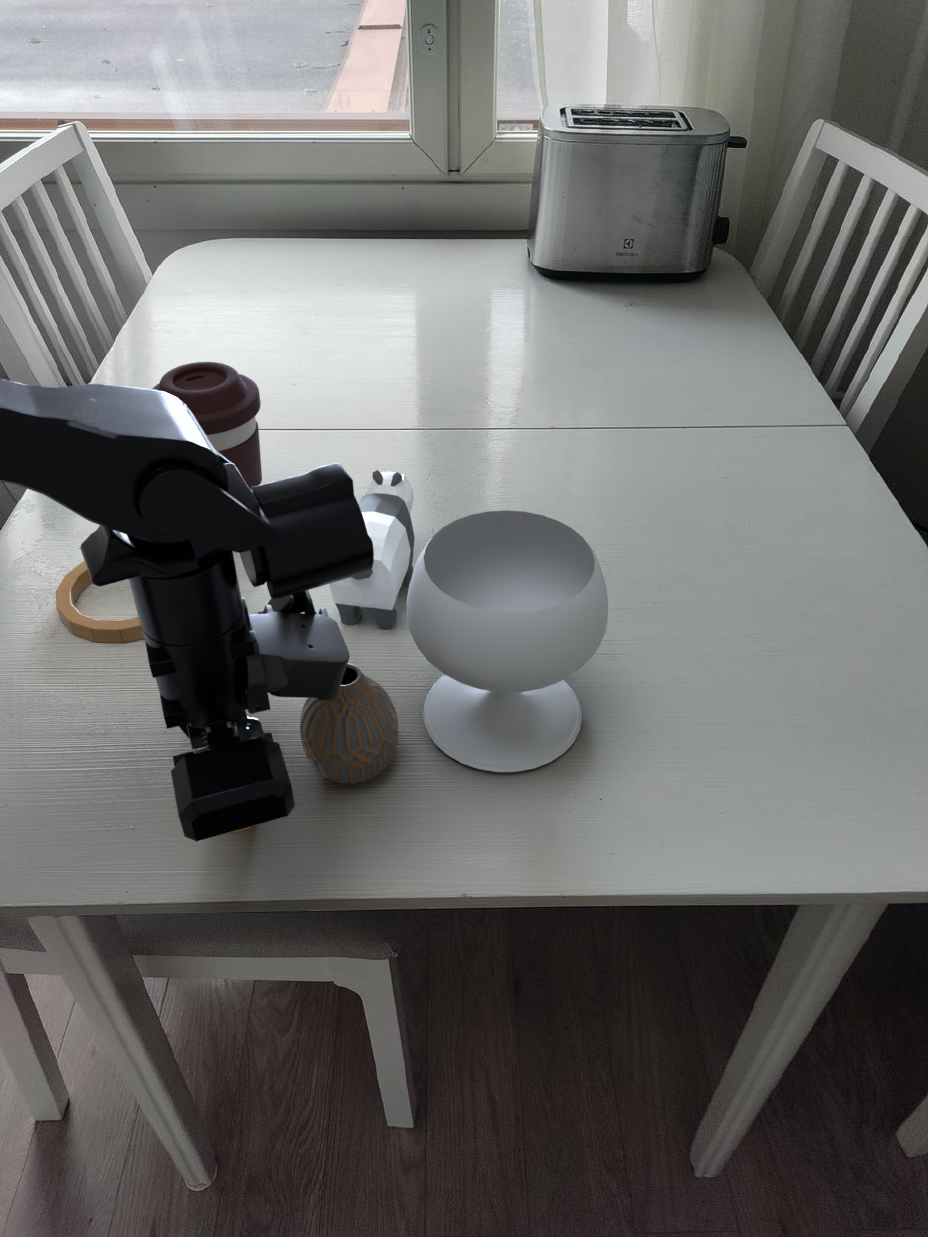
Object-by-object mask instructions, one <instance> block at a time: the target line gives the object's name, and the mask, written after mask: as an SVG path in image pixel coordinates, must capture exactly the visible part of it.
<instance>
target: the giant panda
mask: <svg viewBox="0 0 928 1237" xmlns="http://www.w3.org/2000/svg"><path fill="white" fill-rule="evenodd" d="M414 499H415V498H414V487H413V485H412V484H411V482H410V481H409V479H408V478H407V476H406V475H405V474H403V473H400V472H398V471H396V472H394V471H379V470H378V469H376V470H375V471H373V472H372V479H371V481H370V483H369V485H368V487H367V489H366V492H365V493H364V495H362V497H361V498H360V500H359V502H358V505H359V507H360V510H361V513H362V516H363V518H364V522H365V526H366V529H367V534H368V535H369V537H370V538H371V540H372V542H373V550H374V562H373V567H372V569H371V571H370V572H367V573H364V574H360V575H357V576H354V577H350V578H347V579H343V580H340V581H337V582H333V583H330V584H328V585H329V589H330V592H331V596H332V599H333V603H334V604H335V606H336V608H337V610H338V614H339V618H340V623H342V624H345V625H347V626H348V625H349V626H350V625H356V624H357V623H358V621H359V620H360V619H361V615H362V610H363V608H371V609H372V610H373V611H374V613H375V614H376V627H377V628H380V629H383V630H389V629H392V628H393V627H394V625H395V623H396V620H397V618H398V617H397V616H398V615H397V614H398V612H397V609H396V605H397V604H396V603H397V599H398V596H399V592H400V589H401V588H405V587H409V585H410V581H411V578H412V574H413V571H414V567H413V560H414V549H415V539H416V537H415V532H414V527H413V522H412V518H411V514H412V509H413V504H414V501H415V500H414ZM362 607H363V608H362Z"/></svg>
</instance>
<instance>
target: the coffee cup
mask: <svg viewBox="0 0 928 1237" xmlns="http://www.w3.org/2000/svg"><path fill="white" fill-rule="evenodd" d="M151 389H152V390H157V391H162V392H166V393H168V394H170V395H172V396H174V397H176V398H178V399H179V400H181V401H182V402H183V403H184V404H185V405H187V407H188V408H189V410H190V411H191V412H192V413H193V415H194V417H195V418H196V420H197V421H198V423H199V425H200V426H201V428H202V430H203V431H204V433H205V435H206V436H207V438H208V439H209V441H210V443H211V444H212V446H213V448H214V449H215V450H216V451H217V452H219V453H220V454H221V455H223V456H224V457H225V458H226V459H228V460H229V461H230V462H231V463H233V464H234V465H235V466H236V468H237V469H238V471H239V472H240V474H241V476H242V477H243V479H244V480H245V482H246V484H247V485H248V487H249V488H250V490H251V487H254V486H258V485H262V481H263V474H262V473H263V472H262V471H263V470H262V457H261V443H260V430H259V428H260V427H259V423H258V421H257V419H256V416H257V415H258V413H259V412H260V409H261V395H260V389H259V386H258V384H257V383H256V382H255V381H254V380H252V378H250V377H248V376H246V375H244V374H241V373H239V372H238V371H237V369H236V368H234V367H232V366H230V365H228V364H225V363H221V362H217V361H196V362H190V363H185V364H181V365H179V366H176V367H174V368H172V369H169V370H168V371H167V372H166V373H165V374H163V375H162V376H161V378H160V380H159V383H157V384H155V385H154V386H153V387H152V388H151Z"/></svg>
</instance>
